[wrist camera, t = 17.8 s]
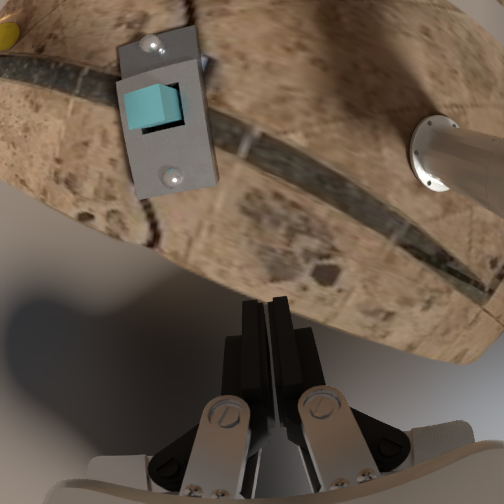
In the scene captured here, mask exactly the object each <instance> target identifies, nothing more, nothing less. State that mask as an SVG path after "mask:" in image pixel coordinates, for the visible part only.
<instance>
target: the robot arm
mask: <svg viewBox="0 0 504 504" xmlns="http://www.w3.org/2000/svg"><path fill="white" fill-rule="evenodd" d="M410 162H411V165H412V169H413V171H414V174H415V176H416V177H417V179H418V180H419V181H420V182H421V183H422V184H423V185H424V186H425V187H427V188H429V189H431V190H433V191H437V192H443V191H447V190H449V189H452V190H454V191H456V192H457V193H459V194H461V195H463V196H465V197H467V198H469V199H471V200H472V201H474V202H476V203H478V204H479V205H481V206H483V207H485V208H486V209H488V210H490V211H491V212H493V213H495V214H496V215H498V216H500V217H501V218H503V219H504V138H500V137H497V136H493V135H489V134H485V133H481V132H476V131H472V130H467V129H462V128H459V126H458V125H457V124H456V123H455V122H454V121H453V120H452V119H450V118H448V117H445V116H442V115H431V116H428V117H426V118H425V119H423V120H422V121H421V122H420V123H419V124H418V125H417V127H416V128H415V130H414V132H413V135H412V138H411V142H410ZM268 312H269V323H270V333H271V343H272V355H273V366H274V377H275V387H276V396H277V404H278V412H279V420H280V427H286V428H287V436H288V439H289V440H290V441H292V442H294V443H295V444H297V445H298V448H299V451H300V454H301V457H302V461H303V464H304V467H305V471H306V474H307V477H308V480H309V483H310V487H311V489H312V494H305V495H298V496H289V497H279V498H265V499H254V495H255V488H256V482H257V476H258V470H259V462H260V456H261V448H262V447H263V446H264V445H265V444H266V443H268V441H269V436H270V428H275V427H276V426H275V412H274V400H273V387H272V375H271V362H270V351H269V344H268V336H267V328H266V322H265V314H264V306H263V303H258V302H257V300H248V301H243V304H242V335H240V336H227V337H226V339H225V350H224V363H223V376H222V390H221V396H220V397H217V398H215V399H213V400H211V401H210V402H209V403H208V404H207V405H206V407H205V409H204V411H203V414H202V418H201V421H200V423H199V424H198V425H196V426H195V427H194V428H192V429H191V430H189V431H188V432H187V433H185V434H184V435H183V436H181V437H180V438H178V439H177V440H176V441H174V442H173V443H171V444H170V445H169V446H167V447H166V448H164V449H163V450H161V451H160V452H158V453H157V454H155V456H148V457H147V456H146V455H133V456H98V457H95V458H93V459H92V460H91V461H90V462H89V464H88V468H87V479H68V480H63V481H60V482H57V483H55V484H54V485H53V486H52V487H51V488H50V489H49V490H48V492H47V494H46V496H45V499H44V501H43V504H504V441H501V440H485V441H480V442H475V439H474V434H473V430H472V427H471V426H470V425H469V424H468V423H467V422H465V421H462V420H459V421H458V420H457V421H452V422H448V423H443V424H438V425H432V426H426V427H419V428H412V429H411V431H403V432H402V431H401V430H399V429H397V428H394V427H392V426H390V425H388V424H385V423H383V422H381V421H379V420H376V419H374V418H372V417H370V416H368V415H366V414H364V413H361V412H359V411H357V410H355V409H353V408H351V407H349V405H348V403H347V401H346V399H345V397H344V395H343V394H342V393H341V392H340V391H339V390H338V389H336V388H334V387H331V386H326V384H325V380H324V376H323V372H322V367H321V363H320V360H319V355H318V351H317V347H316V344H315V340H314V336H313V332H312V329H311V327H308V328H301V329H293V325H292V320H291V314H290V309H289V304H288V299H287V296H282V297H274V298H273V301H272V302H268Z"/></svg>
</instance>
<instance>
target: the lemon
mask: <svg viewBox="0 0 504 504" xmlns="http://www.w3.org/2000/svg"><path fill="white" fill-rule="evenodd" d="M19 34H20V29H19V27H18V25H17V24H15V23H11V22H6V23H2V24H0V51H1V50H6V49H8V48H10V47H11V46H13V45H14V44H15V42H16V41H17V39H18V38H19Z"/></svg>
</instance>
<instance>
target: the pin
mask: <svg viewBox="0 0 504 504" xmlns="http://www.w3.org/2000/svg"><path fill="white" fill-rule="evenodd" d="M123 96H124V103H125V109H126V115H127V120H128V126H129V130H133V129H140V128H147V127H154V126H160V125H164V124H168V123H172V122H177V121H181V120H184V115H183V108H182V102H181V95H180V91H179V90H176V89H173V88H171V87H168V86H165V85H162V84H155V85H152V86H149V87H145V88H142V89H139V90H136V91H133V92H130V93H127V94H124V95H123Z"/></svg>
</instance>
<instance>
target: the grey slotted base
mask: <svg viewBox="0 0 504 504" xmlns="http://www.w3.org/2000/svg"><path fill="white" fill-rule="evenodd" d="M119 58H120V68H121V77H122V80H120V81H118V82H116V87H117V95H118V102H119V108H120V115H121V121H122V127H123V132H124V138H125V143H126V148H127V153H128V158H129V162H130V167H131V171H132V176H133V180H134V184H135V189H136V193H137V197H138V200H140V199H145V198H150V197H155V196H161V195H166V194H171V193H177V192H182V191H188V190H194V189H200V188H206V187H213V186H217V183H218V181H219V173H218V167H217V161H216V154H215V148H214V142H213V136H212V129H211V123H210V116H209V110H208V103H207V96H206V90H205V83H204V76H203V69H202V62H201V54H200V47H199V40H198V32H197V28H196V27H195V25H193V26H189V27H185V28H180V29H176V30H172V31H169V32H165V33H161V34H158V35H153V34H148V35H146V36H144V37H143V38H142V39H141V40H139V41H136V42H133V43H130V44H128V45H125V46H122V47H120V48H119ZM155 84H162V85H165V86H168V87H171V88H177V87H179V88H180V95H181V102H182V108H183V115H184V121H185V125H182V126H178V127H173V128H169V129H165V130H160V131H156V132H152V127H147V128H140V129H133V130H129V126H128V120H127V115H126V109H125V103H124V96H123V95H124V94H127V93H130V92H133V91H136V90H139V89H142V88H145V87H149V86H152V85H155Z"/></svg>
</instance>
